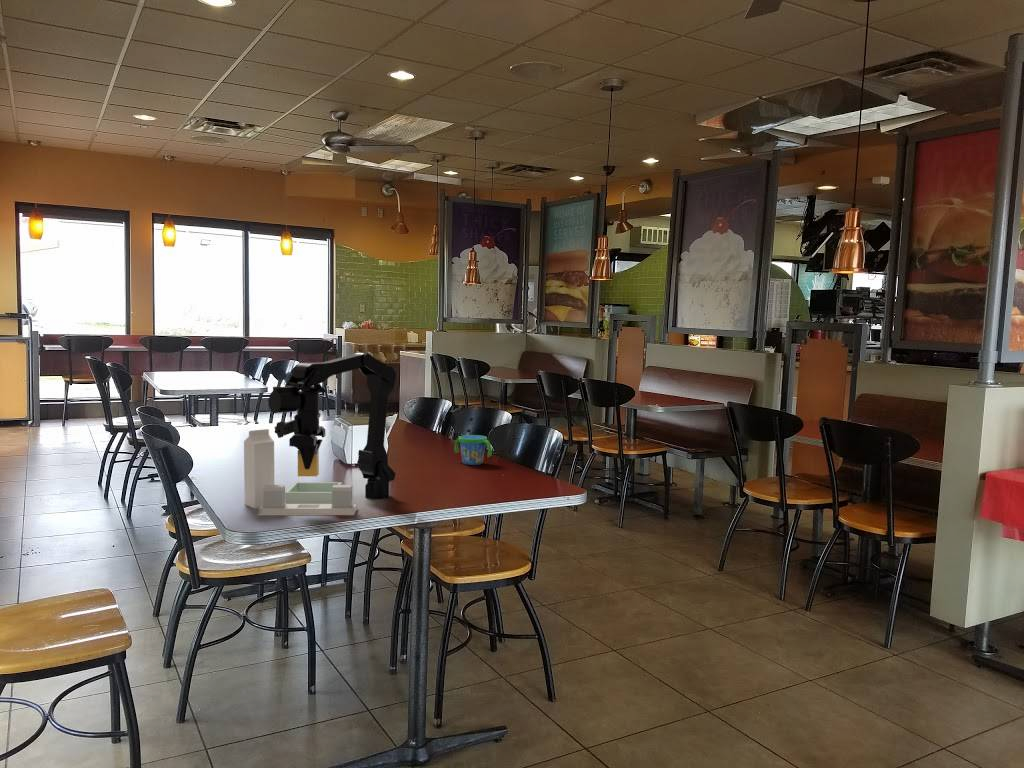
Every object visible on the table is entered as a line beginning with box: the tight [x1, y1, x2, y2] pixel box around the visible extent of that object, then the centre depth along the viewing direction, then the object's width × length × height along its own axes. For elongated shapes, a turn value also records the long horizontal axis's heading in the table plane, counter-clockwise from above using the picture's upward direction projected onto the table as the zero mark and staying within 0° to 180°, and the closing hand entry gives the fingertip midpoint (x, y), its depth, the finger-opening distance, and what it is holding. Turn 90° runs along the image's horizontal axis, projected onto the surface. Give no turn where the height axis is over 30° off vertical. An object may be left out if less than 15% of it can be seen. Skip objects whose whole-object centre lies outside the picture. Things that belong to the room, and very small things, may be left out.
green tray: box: [285, 481, 343, 504], centre depth 218 cm, size 14×14×4 cm
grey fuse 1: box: [263, 484, 286, 508], centre depth 203 cm, size 5×3×7 cm, turn 94°
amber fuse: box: [297, 448, 320, 477], centre depth 203 cm, size 5×3×7 cm, turn 94°
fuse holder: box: [257, 503, 358, 516], centre depth 204 cm, size 25×7×2 cm, turn 94°
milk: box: [243, 428, 275, 509], centre depth 210 cm, size 6×6×22 cm
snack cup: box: [453, 434, 493, 466], centre depth 282 cm, size 16×10×10 cm
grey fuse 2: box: [332, 484, 353, 508], centre depth 204 cm, size 5×3×7 cm, turn 94°
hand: (308, 467), depth 203 cm, fingers closed on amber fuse, 3 cm apart
